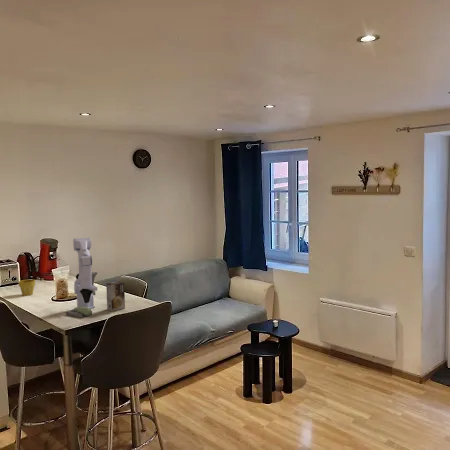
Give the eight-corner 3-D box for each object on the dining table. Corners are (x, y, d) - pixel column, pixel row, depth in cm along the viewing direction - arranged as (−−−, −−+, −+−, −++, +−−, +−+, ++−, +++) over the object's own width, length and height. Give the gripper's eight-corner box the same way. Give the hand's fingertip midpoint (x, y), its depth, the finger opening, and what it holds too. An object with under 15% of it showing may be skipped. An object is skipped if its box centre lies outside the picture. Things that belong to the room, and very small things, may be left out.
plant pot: (24, 297, 295) (23, 283, 294) (16, 295, 301) (15, 281, 301) (38, 294, 303) (38, 280, 303) (30, 292, 310) (30, 278, 309)
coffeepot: (95, 292, 310) (94, 267, 308) (100, 294, 302) (100, 268, 301) (73, 295, 300) (73, 269, 299) (79, 297, 293) (78, 271, 291)
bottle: (91, 314, 249) (79, 312, 254) (91, 307, 249) (79, 305, 254) (85, 316, 245) (73, 313, 250) (85, 308, 245) (73, 306, 250)
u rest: (77, 311, 257) (77, 308, 257) (92, 314, 251) (91, 311, 251) (66, 315, 250) (66, 311, 250) (81, 317, 244) (81, 314, 244)
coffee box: (120, 306, 269) (119, 280, 268) (125, 308, 264) (124, 282, 263) (106, 309, 263) (105, 282, 262) (111, 311, 258) (110, 284, 257)
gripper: (71, 278, 236) (71, 302, 237) (90, 280, 229) (90, 305, 230) (81, 275, 242) (81, 299, 243) (100, 278, 235) (100, 303, 236)
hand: (86, 302), depth 237 cm, fingers closed
